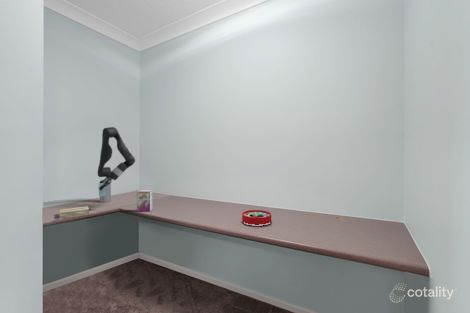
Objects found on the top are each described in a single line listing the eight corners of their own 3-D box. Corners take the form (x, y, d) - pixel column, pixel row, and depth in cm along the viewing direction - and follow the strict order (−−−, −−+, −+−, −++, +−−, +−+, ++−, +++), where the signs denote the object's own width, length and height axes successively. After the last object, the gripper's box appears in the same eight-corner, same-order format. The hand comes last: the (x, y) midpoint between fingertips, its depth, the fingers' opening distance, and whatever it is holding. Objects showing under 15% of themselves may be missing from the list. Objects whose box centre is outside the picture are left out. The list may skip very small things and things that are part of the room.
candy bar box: (136, 211, 187) (136, 191, 186) (139, 209, 192) (139, 190, 191) (149, 211, 185) (149, 191, 185) (152, 210, 190) (152, 190, 190)
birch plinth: (60, 214, 178) (60, 209, 178) (87, 210, 188) (87, 205, 188) (59, 218, 167) (59, 213, 166) (88, 214, 177) (88, 209, 177)
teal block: (99, 195, 191) (98, 183, 191) (105, 194, 194) (104, 183, 194) (99, 196, 188) (99, 184, 187) (105, 195, 190) (105, 183, 190)
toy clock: (244, 209, 170) (272, 210, 166) (244, 217, 170) (272, 218, 166) (239, 216, 150) (270, 218, 146) (239, 225, 151) (270, 227, 146)
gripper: (110, 169, 200) (94, 185, 194) (113, 171, 189) (96, 187, 182) (117, 175, 204) (102, 190, 197) (120, 177, 192) (104, 193, 185)
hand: (99, 189), depth 190 cm, fingers closed on teal block, 4 cm apart
